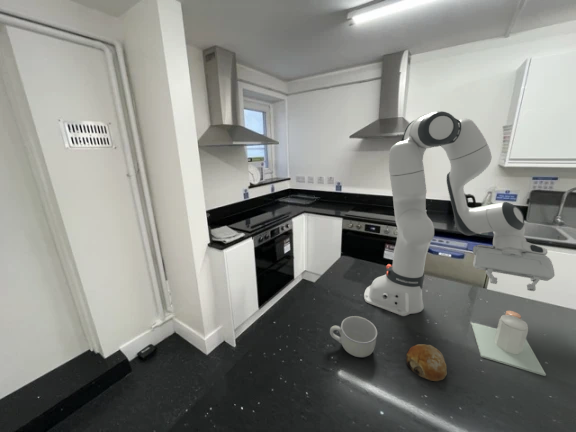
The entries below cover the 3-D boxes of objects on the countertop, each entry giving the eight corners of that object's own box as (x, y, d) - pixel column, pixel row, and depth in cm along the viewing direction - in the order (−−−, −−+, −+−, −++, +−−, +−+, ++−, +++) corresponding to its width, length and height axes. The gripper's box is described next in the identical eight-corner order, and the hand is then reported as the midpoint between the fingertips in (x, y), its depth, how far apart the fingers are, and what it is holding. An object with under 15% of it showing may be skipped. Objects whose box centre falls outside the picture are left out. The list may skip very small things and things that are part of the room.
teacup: (375, 340, 78) (377, 319, 76) (375, 368, 68) (377, 344, 66) (332, 331, 83) (333, 311, 81) (327, 355, 73) (327, 333, 71)
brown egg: (506, 323, 85) (508, 315, 84) (502, 316, 89) (504, 309, 88) (521, 326, 83) (523, 319, 83) (517, 319, 87) (519, 312, 86)
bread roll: (443, 395, 64) (461, 376, 62) (407, 376, 65) (424, 357, 62) (429, 364, 74) (445, 346, 71) (398, 348, 74) (413, 330, 72)
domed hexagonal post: (498, 349, 73) (504, 324, 71) (492, 336, 79) (498, 312, 76) (524, 356, 71) (531, 330, 68) (517, 342, 76) (523, 318, 74)
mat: (481, 356, 72) (481, 355, 71) (471, 323, 85) (471, 322, 85) (545, 376, 65) (545, 374, 65) (523, 337, 79) (524, 335, 79)
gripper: (475, 239, 87) (475, 276, 81) (553, 250, 77) (560, 291, 72) (470, 247, 92) (470, 281, 86) (544, 257, 82) (549, 297, 76)
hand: (512, 286), depth 79 cm, fingers open, 8 cm apart
